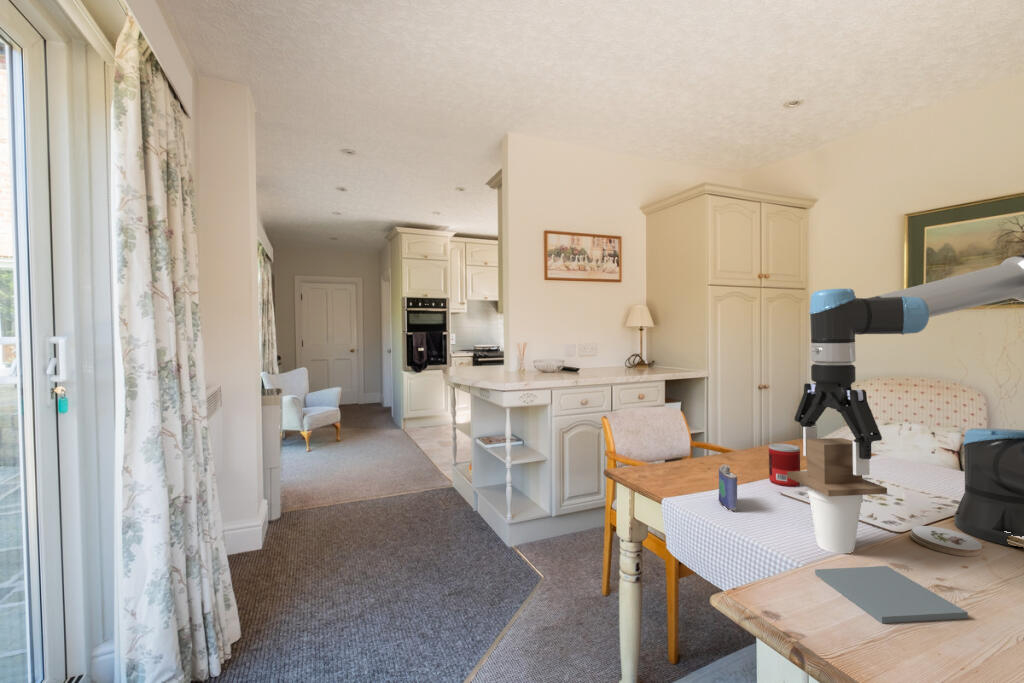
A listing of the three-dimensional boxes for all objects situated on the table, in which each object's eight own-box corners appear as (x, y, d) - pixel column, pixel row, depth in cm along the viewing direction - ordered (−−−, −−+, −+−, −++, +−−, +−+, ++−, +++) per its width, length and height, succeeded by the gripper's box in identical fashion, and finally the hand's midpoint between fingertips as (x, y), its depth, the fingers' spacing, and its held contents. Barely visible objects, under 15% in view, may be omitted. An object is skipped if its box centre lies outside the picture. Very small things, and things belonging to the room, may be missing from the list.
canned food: (806, 487, 129) (805, 449, 129) (778, 487, 129) (778, 449, 129) (790, 478, 136) (789, 443, 136) (764, 479, 137) (763, 443, 136)
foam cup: (847, 562, 87) (847, 495, 86) (798, 543, 95) (798, 482, 95) (872, 550, 91) (871, 487, 91) (823, 533, 99) (823, 475, 99)
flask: (739, 512, 112) (738, 470, 111) (727, 512, 112) (726, 469, 112) (727, 499, 121) (726, 460, 121) (715, 499, 121) (714, 459, 121)
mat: (887, 571, 83) (886, 565, 83) (967, 618, 69) (967, 612, 69) (815, 574, 82) (815, 569, 82) (882, 623, 68) (881, 616, 68)
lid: (839, 475, 99) (838, 434, 99) (887, 493, 87) (886, 447, 87) (787, 477, 98) (786, 435, 98) (828, 496, 86) (827, 449, 86)
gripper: (776, 360, 105) (777, 450, 105) (866, 367, 80) (867, 485, 80) (807, 360, 105) (808, 449, 105) (905, 366, 80) (907, 483, 80)
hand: (833, 464), depth 93 cm, fingers open, 13 cm apart
